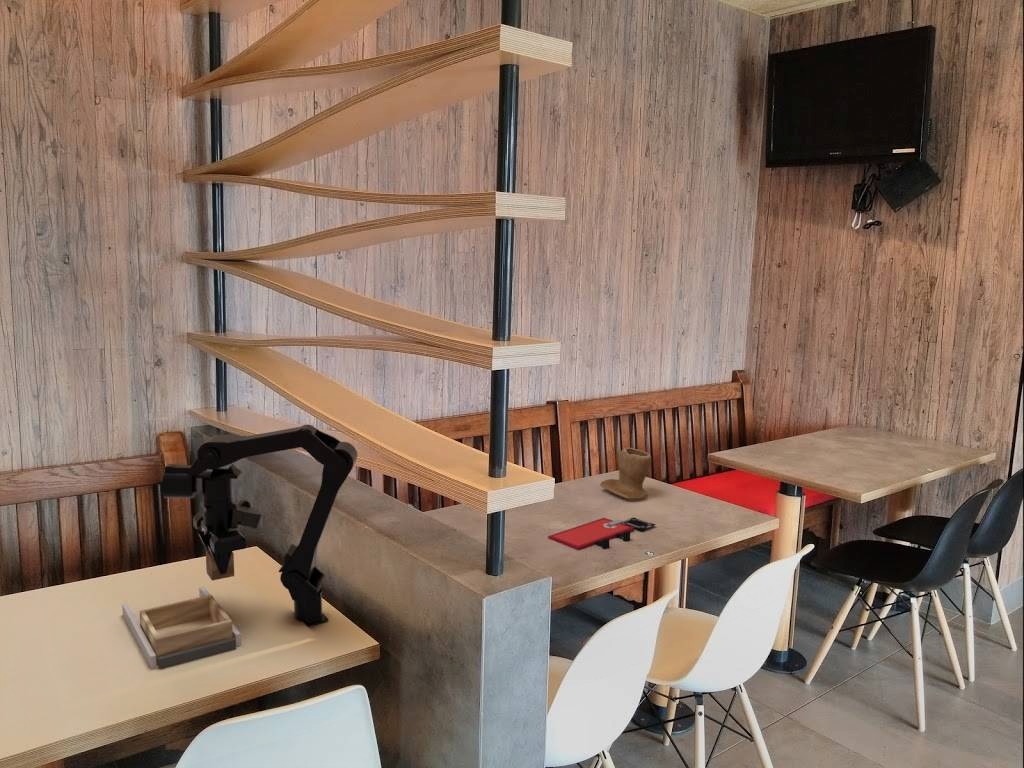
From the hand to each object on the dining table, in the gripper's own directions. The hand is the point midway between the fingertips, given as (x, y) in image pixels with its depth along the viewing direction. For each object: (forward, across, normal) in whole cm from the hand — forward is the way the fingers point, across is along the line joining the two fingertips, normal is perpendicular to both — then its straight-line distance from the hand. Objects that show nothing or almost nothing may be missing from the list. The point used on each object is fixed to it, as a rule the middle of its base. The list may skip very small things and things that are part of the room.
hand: (220, 569), depth 174 cm
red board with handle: (+11, -1, -103) cm, 104 cm away
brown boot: (+11, +23, -132) cm, 134 cm away
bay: (+11, -2, +9) cm, 14 cm away
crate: (+10, -7, +9) cm, 15 cm away
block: (+1, 0, 0) cm, 1 cm away
